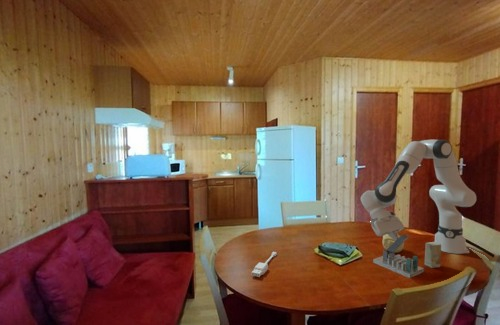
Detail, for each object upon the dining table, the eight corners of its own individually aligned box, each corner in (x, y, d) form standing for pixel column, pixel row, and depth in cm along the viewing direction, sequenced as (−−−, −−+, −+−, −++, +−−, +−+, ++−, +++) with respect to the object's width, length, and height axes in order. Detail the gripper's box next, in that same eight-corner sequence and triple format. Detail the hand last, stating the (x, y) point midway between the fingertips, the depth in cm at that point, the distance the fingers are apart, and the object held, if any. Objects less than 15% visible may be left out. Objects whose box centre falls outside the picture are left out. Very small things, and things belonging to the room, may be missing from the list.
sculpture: (382, 252, 160) (382, 235, 160) (382, 245, 171) (382, 229, 170) (403, 255, 155) (404, 237, 154) (403, 248, 166) (403, 231, 165)
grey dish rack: (373, 262, 147) (373, 248, 146) (386, 257, 153) (387, 244, 152) (409, 278, 129) (410, 262, 129) (423, 272, 135) (424, 256, 135)
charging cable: (279, 255, 161) (279, 250, 161) (260, 278, 131) (260, 272, 131) (271, 254, 163) (271, 249, 163) (250, 276, 133) (250, 270, 133)
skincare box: (431, 268, 139) (432, 245, 138) (424, 264, 143) (424, 242, 142) (441, 266, 141) (441, 244, 140) (433, 263, 145) (434, 241, 144)
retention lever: (384, 252, 145) (400, 235, 137) (388, 250, 147) (405, 234, 138) (386, 255, 144) (403, 238, 135) (391, 253, 146) (408, 237, 137)
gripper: (372, 216, 141) (389, 240, 133) (396, 211, 151) (413, 234, 143) (365, 222, 145) (380, 246, 137) (388, 217, 155) (404, 239, 147)
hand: (397, 240), depth 140 cm, fingers closed, pressing on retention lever
